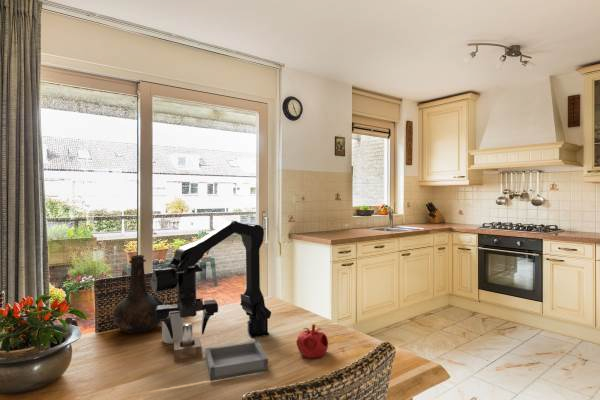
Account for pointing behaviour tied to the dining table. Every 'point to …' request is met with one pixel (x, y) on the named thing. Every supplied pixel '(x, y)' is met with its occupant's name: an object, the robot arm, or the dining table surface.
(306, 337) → the pomegranate
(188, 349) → the socket block
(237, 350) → the tray
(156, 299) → the brown vase
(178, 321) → the can
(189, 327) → the pin
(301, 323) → the dining table surface
